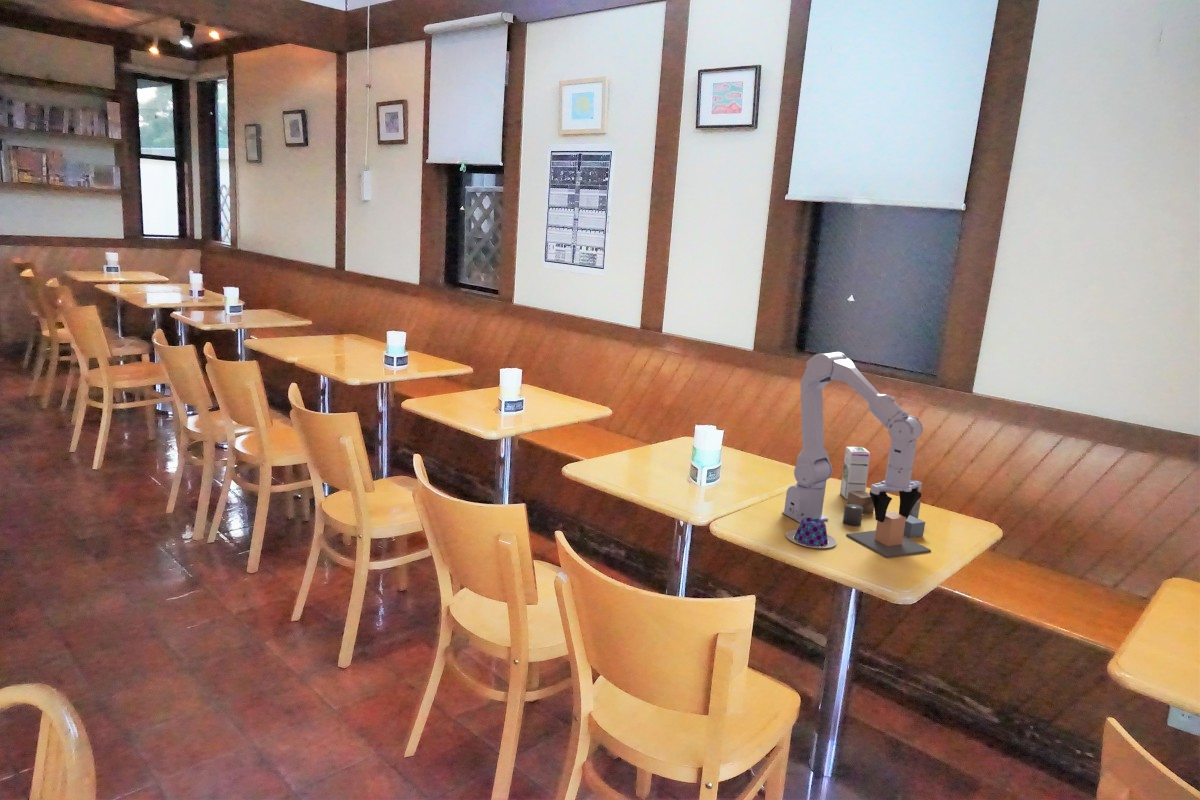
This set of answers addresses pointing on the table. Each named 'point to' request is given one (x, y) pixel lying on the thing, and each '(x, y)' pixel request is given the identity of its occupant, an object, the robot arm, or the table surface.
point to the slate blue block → (913, 527)
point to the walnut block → (861, 500)
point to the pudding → (811, 534)
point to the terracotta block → (891, 529)
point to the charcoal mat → (888, 551)
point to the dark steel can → (915, 509)
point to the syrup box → (854, 470)
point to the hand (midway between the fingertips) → (891, 519)
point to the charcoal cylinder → (852, 515)
